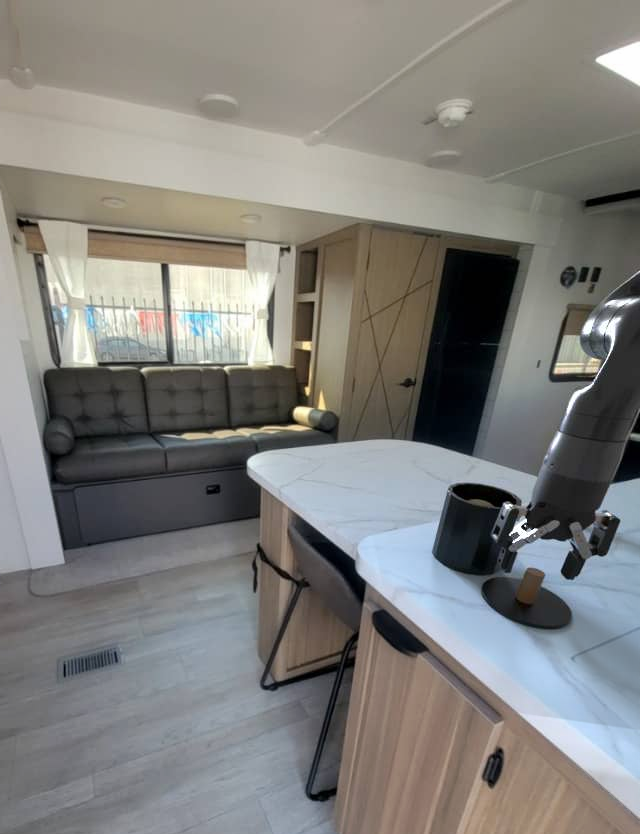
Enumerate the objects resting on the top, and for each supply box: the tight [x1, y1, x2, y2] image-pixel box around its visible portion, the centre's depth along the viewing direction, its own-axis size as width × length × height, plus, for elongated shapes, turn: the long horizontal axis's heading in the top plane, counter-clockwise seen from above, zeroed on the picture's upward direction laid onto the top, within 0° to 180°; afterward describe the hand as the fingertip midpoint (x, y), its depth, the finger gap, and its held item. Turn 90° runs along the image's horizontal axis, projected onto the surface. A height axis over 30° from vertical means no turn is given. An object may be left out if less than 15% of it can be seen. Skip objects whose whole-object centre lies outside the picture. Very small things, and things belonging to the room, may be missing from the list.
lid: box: [480, 567, 573, 630], centre depth 61 cm, size 12×12×6 cm
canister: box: [431, 482, 523, 577], centre depth 71 cm, size 11×11×13 cm
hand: (535, 573), depth 59 cm, fingers open, 8 cm apart
